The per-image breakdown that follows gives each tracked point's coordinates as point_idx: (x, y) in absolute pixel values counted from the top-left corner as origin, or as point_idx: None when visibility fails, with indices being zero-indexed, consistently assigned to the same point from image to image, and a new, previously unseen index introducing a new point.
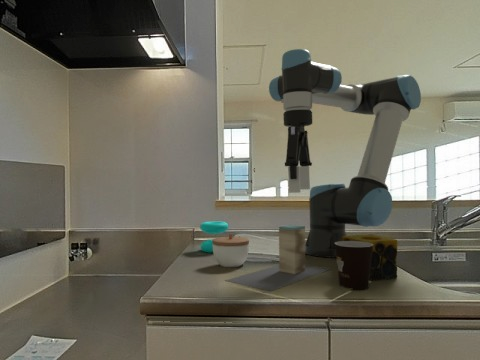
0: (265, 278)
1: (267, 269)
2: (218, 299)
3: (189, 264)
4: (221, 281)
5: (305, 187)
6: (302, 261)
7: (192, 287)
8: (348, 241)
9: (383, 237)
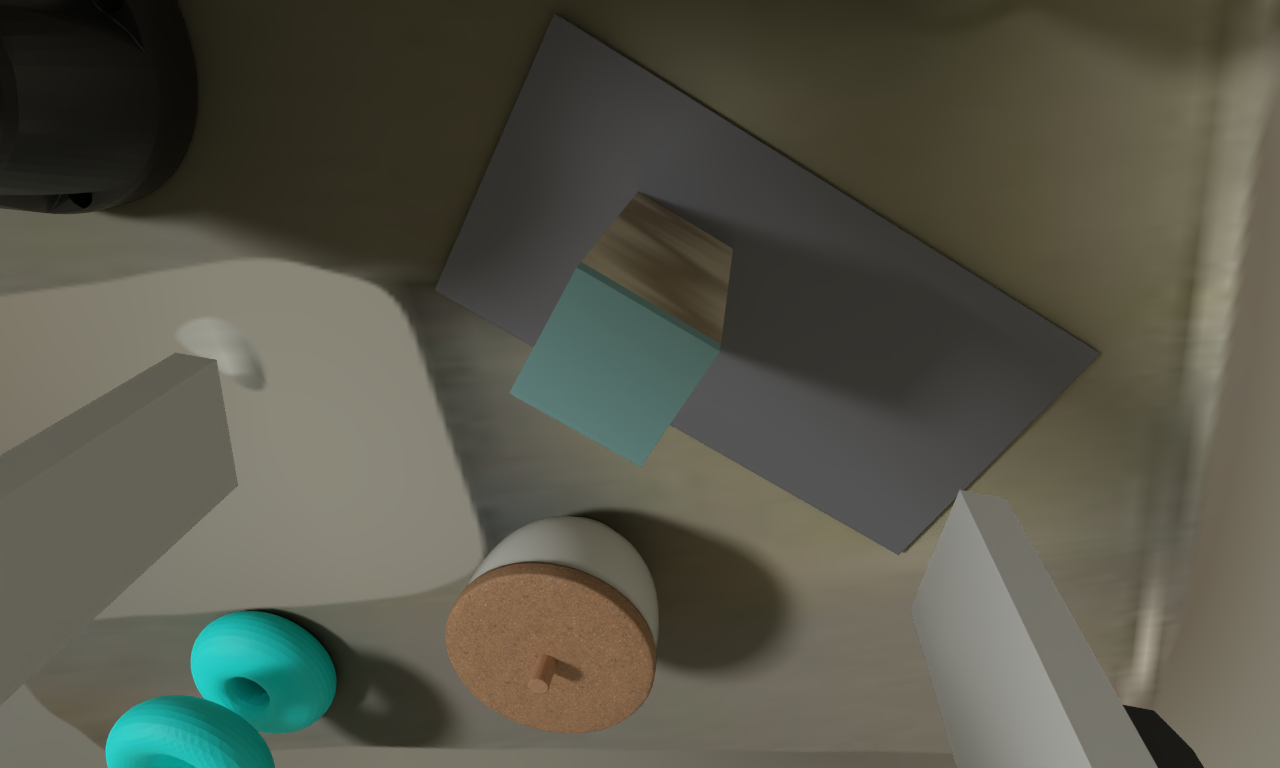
0: (849, 392)
1: None
2: (1180, 541)
3: None
4: (883, 563)
5: (208, 426)
6: (656, 220)
7: None
8: None
9: None
